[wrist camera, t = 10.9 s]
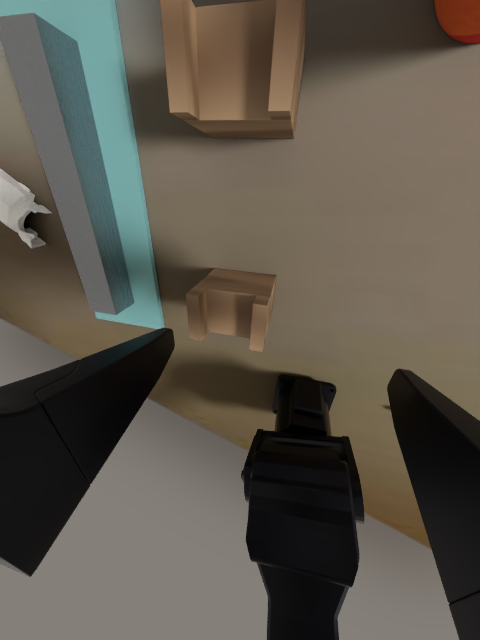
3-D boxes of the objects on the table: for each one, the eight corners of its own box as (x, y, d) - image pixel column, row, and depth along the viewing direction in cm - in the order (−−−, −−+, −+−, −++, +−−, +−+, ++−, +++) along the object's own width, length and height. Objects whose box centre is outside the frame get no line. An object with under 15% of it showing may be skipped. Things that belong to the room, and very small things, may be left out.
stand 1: (294, 138, 16) (289, 110, 10) (212, 137, 17) (169, 112, 11) (304, 55, 14) (306, -34, 8) (211, 60, 15) (158, -16, 9)
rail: (134, 302, 26) (116, 315, 23) (111, 299, 26) (91, 311, 24) (77, 41, 15) (33, 12, 13) (41, 44, 16) (-7, 17, 13)
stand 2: (271, 313, 23) (261, 351, 17) (215, 304, 24) (189, 338, 18) (276, 275, 21) (267, 305, 15) (214, 268, 22) (185, 294, 16)
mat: (164, 327, 27) (161, 329, 27) (100, 316, 29) (96, 318, 28) (110, -27, 14) (103, -35, 13) (-3, -11, 16) (-13, -18, 15)
